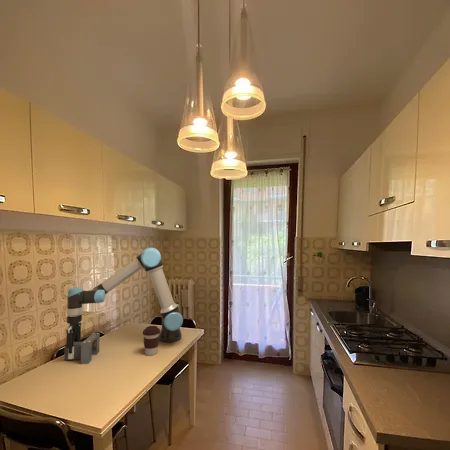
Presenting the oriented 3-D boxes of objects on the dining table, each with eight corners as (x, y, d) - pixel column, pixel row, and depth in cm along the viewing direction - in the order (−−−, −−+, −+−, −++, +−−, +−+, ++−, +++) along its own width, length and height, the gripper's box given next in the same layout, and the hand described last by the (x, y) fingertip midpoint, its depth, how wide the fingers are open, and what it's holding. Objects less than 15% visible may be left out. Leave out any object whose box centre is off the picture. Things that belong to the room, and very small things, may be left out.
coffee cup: (163, 351, 157) (163, 325, 158) (153, 357, 147) (153, 330, 149) (149, 349, 160) (149, 324, 161) (139, 355, 151) (139, 329, 152)
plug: (92, 354, 152) (92, 340, 152) (88, 358, 147) (89, 344, 147) (68, 356, 150) (68, 342, 150) (64, 360, 145) (64, 345, 146)
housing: (99, 351, 157) (99, 332, 158) (88, 363, 141) (88, 342, 142) (92, 352, 157) (92, 332, 157) (80, 364, 141) (81, 342, 142)
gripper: (74, 311, 158) (73, 350, 156) (59, 319, 140) (57, 364, 139) (87, 310, 159) (86, 349, 157) (74, 319, 141) (72, 363, 139)
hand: (73, 356), depth 148 cm, fingers closed on plug, 5 cm apart
